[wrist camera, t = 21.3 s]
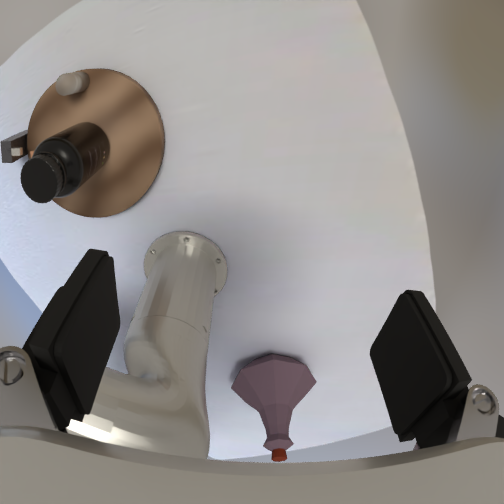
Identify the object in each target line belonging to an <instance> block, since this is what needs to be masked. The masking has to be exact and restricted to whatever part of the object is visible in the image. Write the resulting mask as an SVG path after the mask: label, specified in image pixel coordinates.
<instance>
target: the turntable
mask: <svg viewBox="0 0 504 504" xmlns="http://www.w3.org/2000/svg"><path fill="white" fill-rule="evenodd" d="M82 122H90V123H94V124H96V125H98V126H99V127H100V128H102V130H103V131H104V132H105V133H106V135H107V137H108V140H109V145H110V151H109V156H108V159H107V161H106V163H105V164H104V166H103V167H102V168H101V169H100V170H99V171H97V172H96V173H95V174H94V175H93V176H92V177H91V178H89V179H88V180H87V181H86V182H85V183H84V184H83V185H82V186H81V187H80V188H78V189H77V190H76V191H75V192H74V193H72V194H71V195H69V196H67V197H63V198H54V199H52V200H53V201H54V202H55V203H57V204H58V205H59V206H61V207H62V208H64V209H66V210H68V211H70V212H72V213H74V214H77V215H81V216H85V217H107V216H111V215H115V214H118V213H120V212H122V211H125V210H126V209H128V208H129V207H131V206H132V205H134V204H135V203H136V202H137V201H138V200H139V199H140V198H141V197H142V196H143V195H144V194H145V192H146V191H147V190H148V188H149V187H150V185H151V184H152V183H153V181H154V179H155V178H156V176H157V174H158V172H159V169H160V166H161V163H162V159H163V154H164V144H165V141H164V129H163V123H162V120H161V116H160V113H159V111H158V109H157V106H156V104H155V103H154V101H153V99H152V98H151V96H150V95H149V94H148V92H147V91H146V90H145V89H144V88H143V87H142V86H141V85H140V84H139V83H138V82H137V81H135V80H134V79H132V78H131V77H129V76H127V75H125V74H123V73H121V72H117V71H114V70H110V69H85V70H80V71H76V72H73V73H66V74H62V75H61V76H59V78H58V79H57V81H56V82H55V83H54V84H52V85H51V86H50V87H49V88H48V89H47V90H46V91H45V93H44V94H43V95H42V96H41V98H40V99H39V101H38V103H37V104H36V106H35V108H34V111H33V113H32V116H31V119H30V122H29V127H28V134H27V150H28V157H29V159H30V158H32V155H33V153H34V151H35V149H36V147H37V146H38V145H39V144H40V143H41V142H42V141H44V140H45V139H47V138H49V137H51V136H53V135H55V134H57V133H59V132H61V131H63V130H65V129H67V128H69V127H71V126H73V125H76V124H78V123H82Z"/></svg>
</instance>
